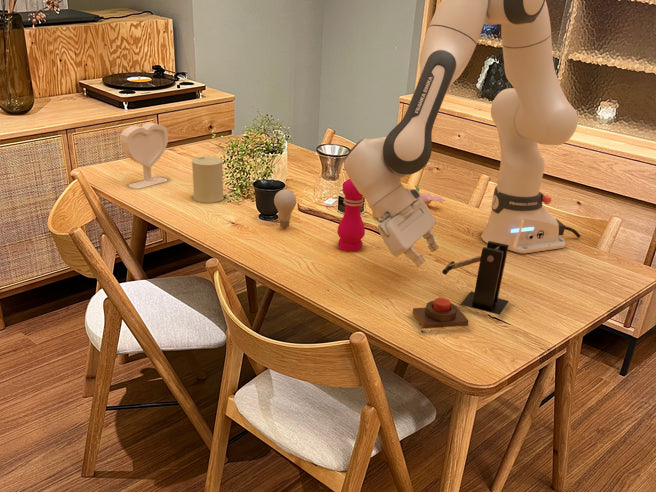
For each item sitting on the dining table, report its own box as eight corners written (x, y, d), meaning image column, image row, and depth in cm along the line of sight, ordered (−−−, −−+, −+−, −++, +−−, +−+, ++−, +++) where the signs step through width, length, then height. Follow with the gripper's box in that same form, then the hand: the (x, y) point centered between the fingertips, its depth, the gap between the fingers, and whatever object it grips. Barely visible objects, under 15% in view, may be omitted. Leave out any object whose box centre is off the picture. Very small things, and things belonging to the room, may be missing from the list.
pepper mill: (361, 254, 182) (368, 178, 172) (334, 250, 183) (339, 175, 173) (365, 243, 188) (371, 170, 178) (338, 240, 189) (343, 167, 179)
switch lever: (444, 277, 158) (440, 268, 157) (452, 269, 162) (448, 259, 161) (498, 261, 150) (494, 251, 149) (505, 253, 154) (501, 243, 153)
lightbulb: (278, 233, 192) (279, 194, 186) (270, 225, 197) (270, 187, 191) (298, 230, 194) (300, 192, 189) (290, 223, 199) (291, 185, 193)
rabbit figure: (394, 206, 218) (439, 209, 210) (394, 187, 215) (439, 190, 207) (403, 201, 223) (448, 204, 214) (403, 182, 220) (448, 184, 212)
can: (210, 191, 220) (209, 152, 214) (229, 198, 215) (229, 159, 209) (187, 197, 215) (185, 158, 208) (206, 205, 209) (204, 165, 203)
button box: (454, 314, 155) (457, 298, 153) (466, 330, 150) (469, 313, 148) (411, 317, 154) (414, 301, 152) (422, 333, 148) (424, 316, 146)
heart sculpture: (133, 190, 218) (127, 131, 209) (123, 186, 221) (117, 127, 212) (172, 179, 228) (168, 123, 219) (162, 176, 231) (158, 120, 222)
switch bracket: (459, 309, 158) (469, 248, 150) (470, 295, 164) (480, 236, 156) (498, 319, 154) (511, 257, 147) (508, 305, 160) (521, 245, 153)
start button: (446, 304, 152) (447, 297, 151) (452, 312, 149) (453, 304, 148) (430, 305, 151) (431, 298, 150) (436, 313, 148) (437, 305, 147)
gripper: (385, 212, 149) (423, 265, 150) (420, 187, 164) (453, 235, 166) (364, 228, 153) (401, 279, 154) (400, 202, 169) (433, 249, 170)
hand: (429, 256), depth 160 cm, fingers open, 8 cm apart
